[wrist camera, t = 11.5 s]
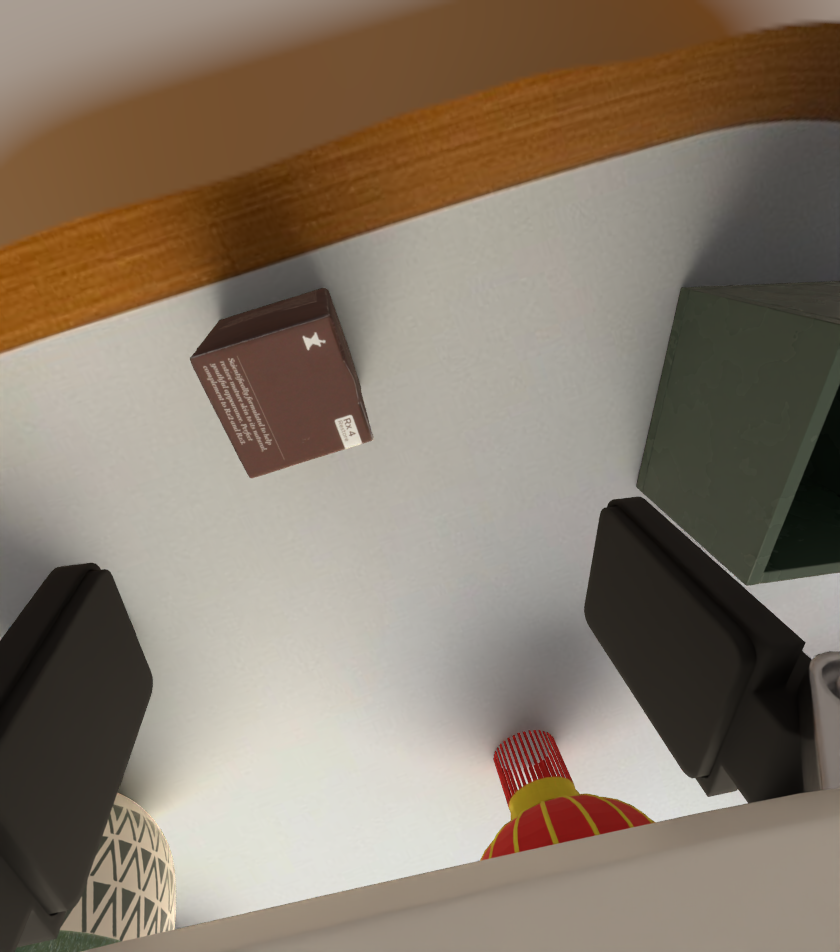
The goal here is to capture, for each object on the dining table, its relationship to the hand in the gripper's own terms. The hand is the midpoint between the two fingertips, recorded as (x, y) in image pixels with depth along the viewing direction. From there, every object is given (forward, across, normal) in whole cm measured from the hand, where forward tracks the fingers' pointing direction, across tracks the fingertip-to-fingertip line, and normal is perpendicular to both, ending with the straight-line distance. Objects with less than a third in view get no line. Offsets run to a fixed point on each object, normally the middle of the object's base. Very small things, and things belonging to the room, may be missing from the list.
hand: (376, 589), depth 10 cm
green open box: (+21, -26, +5) cm, 34 cm away
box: (+21, +2, 0) cm, 21 cm away
